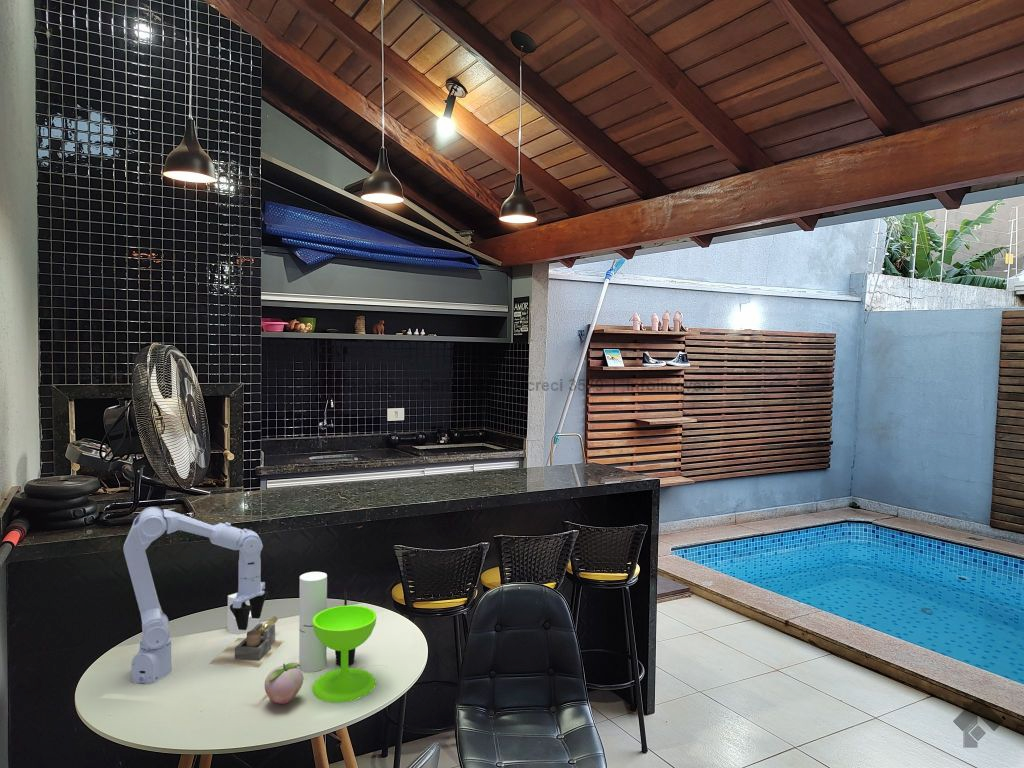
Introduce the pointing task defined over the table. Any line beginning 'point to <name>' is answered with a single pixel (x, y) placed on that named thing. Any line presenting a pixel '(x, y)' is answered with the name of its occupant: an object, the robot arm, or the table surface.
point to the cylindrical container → (311, 621)
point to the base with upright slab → (231, 619)
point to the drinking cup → (350, 652)
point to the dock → (249, 650)
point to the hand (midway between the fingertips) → (249, 623)
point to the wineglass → (344, 651)
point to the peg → (253, 638)
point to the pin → (268, 624)
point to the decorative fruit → (284, 683)
